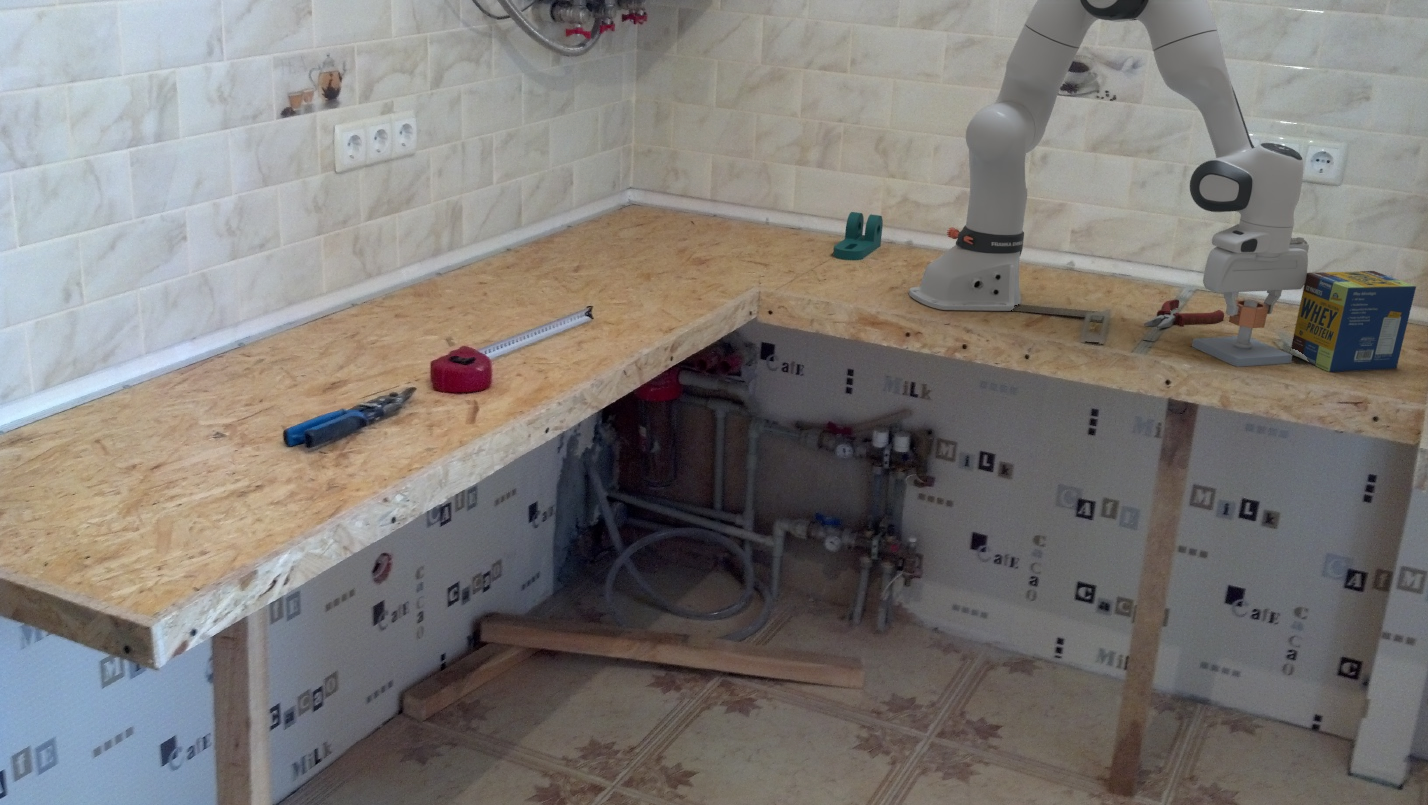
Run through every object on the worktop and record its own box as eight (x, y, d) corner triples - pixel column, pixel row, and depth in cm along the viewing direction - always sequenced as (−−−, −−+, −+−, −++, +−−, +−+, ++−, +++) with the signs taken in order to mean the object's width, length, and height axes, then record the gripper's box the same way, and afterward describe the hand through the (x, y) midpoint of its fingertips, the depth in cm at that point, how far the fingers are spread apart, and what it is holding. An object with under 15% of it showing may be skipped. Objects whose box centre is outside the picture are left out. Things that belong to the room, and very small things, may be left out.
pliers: (1122, 324, 262) (1124, 311, 261) (1171, 309, 276) (1173, 296, 275) (1177, 339, 255) (1180, 326, 254) (1225, 323, 269) (1227, 310, 268)
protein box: (1287, 354, 248) (1305, 271, 243) (1356, 351, 253) (1374, 270, 247) (1328, 372, 239) (1347, 287, 233) (1398, 369, 243) (1418, 285, 238)
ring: (1245, 328, 240) (1248, 309, 239) (1222, 319, 245) (1225, 300, 244) (1271, 327, 242) (1275, 308, 241) (1248, 317, 247) (1252, 299, 246)
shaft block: (1236, 366, 238) (1247, 311, 235) (1191, 346, 249) (1201, 293, 246) (1290, 363, 243) (1302, 309, 239) (1244, 343, 253) (1254, 291, 250)
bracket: (852, 243, 315) (855, 209, 312) (880, 247, 313) (883, 213, 310) (829, 258, 299) (832, 223, 297) (858, 262, 297) (862, 227, 294)
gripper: (1297, 233, 245) (1281, 307, 250) (1205, 235, 238) (1191, 311, 243) (1323, 241, 239) (1306, 316, 244) (1229, 243, 232) (1214, 321, 237)
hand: (1248, 314), depth 243 cm, fingers closed on ring, 6 cm apart
